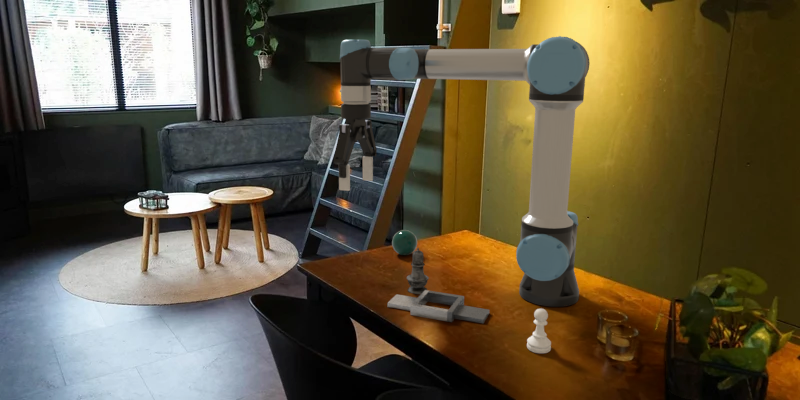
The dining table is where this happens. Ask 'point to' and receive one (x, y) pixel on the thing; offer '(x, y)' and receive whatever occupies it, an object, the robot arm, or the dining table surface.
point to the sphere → (404, 242)
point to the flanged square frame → (436, 313)
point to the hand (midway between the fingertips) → (356, 185)
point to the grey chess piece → (417, 274)
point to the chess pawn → (539, 334)
